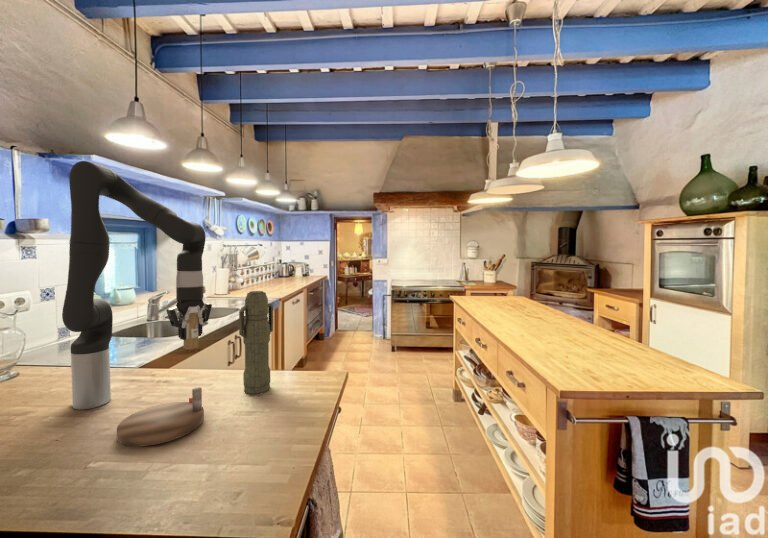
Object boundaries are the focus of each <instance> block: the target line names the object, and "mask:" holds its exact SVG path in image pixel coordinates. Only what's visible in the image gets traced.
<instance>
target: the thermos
mask: <svg viewBox="0 0 768 538" xmlns="http://www.w3.org/2000/svg"><path fill="white" fill-rule="evenodd" d="M238 316H239V317H238V323H239V324H238V325H239V326H238V328H239V330H238V331H239V333H238V334H239V336H241V337H242V338H243V341H242V342H243V345H244V371H243V375H242V376H243V377H242V379H243V392H245V393H246V395H248V394H249V395H250V396H258V395H262V394H261V393H263V394H265V393H267V392H269V391H270V390H271V389H270V388H271V385H270V384H271V368H270V365H269V364H270V363H269V360H270V359H269V352H270V351H269V348H270V347H269V346H270V345H269V344H270V342H271V334H272V333H273V331H274V307H273V305H272V303H269V299H268V296H267V294H266V292H265V291H262V290H252V291H249V292H248V293H247V294H246V296H245V299H244V306H241V308H240V309H239V311H238ZM269 389H270V390H269ZM245 393H244V394H245ZM257 394H258V395H257ZM249 395H248V396H249Z"/></svg>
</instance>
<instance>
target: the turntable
mask: <svg viewBox="0 0 768 538" xmlns="http://www.w3.org/2000/svg"><path fill="white" fill-rule="evenodd" d="M191 391H192V392H191V397H192V402H189V401H175V402H166V403H162V404H161V403H160V404H157V405H153V406H150V407H146V408H144V409H141V410H139V411H136V412H134V413H132V414H131V415H129V416H126V418H124V419H123V420H121V421H120V422H119V424H118V425H117V427H116V440H117V441H118V442H119V443H120V444H122V445H125V446H129V447H130V446H131V447H146V446H154V445H159V444H163V443H167V442H171V441H173V440H176V439H178V438H181V437H183V436H185V435H188V434H190V433H191V432H193V431H195V430H196V429H197V428H199V426H201V424H202V423H203V422H204V419H205V409H204V407H203V395H202V391H203V389H202V387H201V386H198V387H197V386H196V387H194V388H192V389H191Z"/></svg>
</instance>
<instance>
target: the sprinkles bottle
mask: <svg viewBox="0 0 768 538" xmlns="http://www.w3.org/2000/svg"><path fill="white" fill-rule="evenodd" d="M197 312H198V307H195V306H194V307H192V308H191V311H190V312H189V313H190V315H189V319H188V321H187V322H186V326H185V328H186V339H185V340H183V349H186V350H193V349H197V348H198V347H199V346H200V343H199V337H200V336H199V333H198V315H197ZM183 318H184V316H183Z"/></svg>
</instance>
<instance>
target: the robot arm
mask: <svg viewBox="0 0 768 538" xmlns="http://www.w3.org/2000/svg"><path fill="white" fill-rule="evenodd" d="M68 176H69V179H68V180H69V182H68V183H69V193H70V208H71V211H70V215H71V216H70V239H69V251H68V252H69V253H68V254H69V257H68V259H69V261H68V262H69V263H68V273H67V285H66V289H65V290H66V291H65V296H64V301H63V306H62V314H61V317H62V322H63V325H64V326H65V327H66V329H67V330H68V331H70V332H73V333H80V334H79V336H78V337H77V338H76V339H75V340H74V341H73V342H72V343H71V344H70V365H71V367H70V368H71V392H72V393H71V395H72V397H71V398H72V409H74V410H79V411H80V410H81V411H82V410H89V409H94V408H98V407H100V406H103V405H106V404H107V403H109V402H110V401H111V400H112V399H111V397H112V396H111V395H112V393H111V391H112V390H111V387H112V386H111V363H110V362H111V359H110V342H111V340H112V337H113V321H114V319H113V316H114V315H113V310H112V307H111V305H110V304H109V302H108V301H106V300H105V299H102V298H94V296H95V288H96V286H97V285H96V284H97V282H98V280H99V278H100V276H101V275H102V273H103V271H104V270H105V268H106V266H107V263H108V261H109V256H110V241H111V240H110V235H109V232H108V229H107V226H106V225H105V223H104V221H103V219H102V216H101V212H100V197H101V196H103V197H107V198H108V199H111V200H114V201H116V202H118V203H120V204H121V205H124V206H126V208H128V209H130V211H132V212H133V213H134V214H135V216H138V217H139V218H140V219H141V220H143V221H144V222H146V223H148V224H150V225H151V226H153V227H155V228H157V229H158V230H161V231H162V233H164V234H165V235H166V236H167V237H169V238H171V240H173V241H175V242H177V243H179V244H182V249H181V252H179V253H178V254H177V256H176V275H175V278H176V280H175V283H176V284H175V292H176V298H175V299H176V304H175V306H174V307H172V308H167V309H166V314H167V316H168V320H169V322H170V325H171V327H174V328H177V330H178V331H177V332H178V333H177V334H178V335H177V337H178V338H179V339H180V340H182V341H184V340H185V339H186V328H185V326H186V322H187V321H188V319H189V315H190V313H189V312H190V311H191V308H192V307H194V306H195V307H198V312H197V315H198V333H199V336H198V337H201V336H202V334H203V324H204V323H206V322H209V319H210V316H211V315H210V314H211V312H212V308H213V305H212V304H211V303H206V302H204V301H203V299H204V275H203V254H204V251H205V245H206V232H205V231H206V230H205V228H204V227H203V226H201V224H199V223H196V222H190V221H186V220H185V219H184V218H181V217H180V216H179V215H178V214H177V213H176V212H175V211H174V210H172V209H170V208H169V207H167V206H165V205H163V203H160V202H158V201H157V200H155V199H154V198H151V197H149V196H148V195H146V194H144V193H143V192H141V191H140V190H138V189H137V188H135V187H134V186H133V185H132V184H130V183H128V182H127V181H126V180H125V179H124V178H122V177H121V176H120V175H119V174H118V173H116V172H115V171H114V170H112V169H111V168H109V167H107V166H104V165H101V164H98V163H95V162H93V161H92V162H91V161H89V160H81V161H77V162H76V163H74V164H73V166H72V167H71V169H70V172H69V175H68ZM178 313H179V315H178V316H177V314H178ZM183 316H184V318H183Z"/></svg>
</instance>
